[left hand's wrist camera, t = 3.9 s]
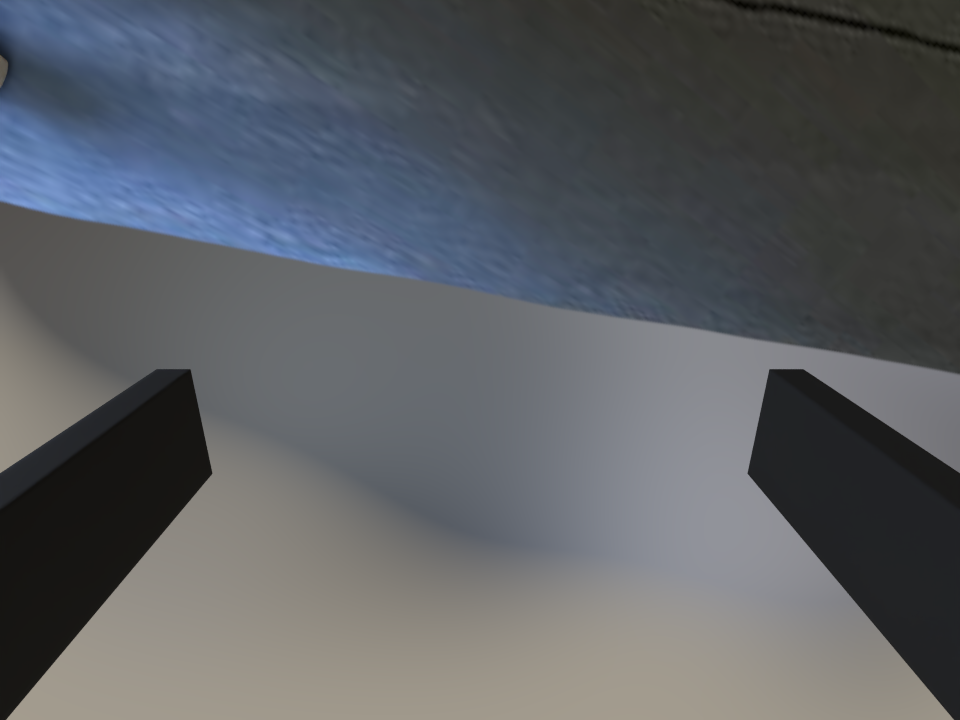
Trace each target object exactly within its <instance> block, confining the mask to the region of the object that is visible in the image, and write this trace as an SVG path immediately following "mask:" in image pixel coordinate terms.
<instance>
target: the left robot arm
mask: <svg viewBox="0 0 960 720" xmlns="http://www.w3.org/2000/svg"><path fill="white" fill-rule="evenodd" d="M211 475H212V469H211V465H210V460H209V455H208V450H207V446H206V441H205V436H204V431H203V427H202V422H201V417H200V413H199V408H198V403H197V398H196V393H195V389H194V384H193V379H192V374H191V370H190V369H157V370H155V371H153V372H152V373H150V374H149V375H147V376H146V377H144V378H143V379H141V380H140V381H138V382H137V383H135V384H134V385H132V386H131V387H129V388H128V389H126V390H125V391H123V392H122V393H120V394H119V395H117V396H116V397H114V398H113V399H111V400H110V401H108V402H107V403H105V404H104V405H102V406H101V407H99V408H98V409H96V410H95V411H93V412H92V413H90V414H89V415H87V416H86V417H84V418H83V419H81V420H80V421H78V422H77V423H75V424H74V425H72V426H71V427H69V428H68V429H66V430H65V431H63V432H62V433H60V434H59V435H57V436H56V437H54V438H53V439H51V440H50V441H48V442H47V443H45V444H44V445H42V446H41V447H39V448H38V449H36V450H35V451H33V452H32V453H30V454H29V455H27V456H26V457H24V458H22V459H21V460H19V461H18V462H16V463H15V464H13V465H12V466H10V467H9V468H7V469H6V470H4V471H3V472H1V473H0V720H6V719H7V718H8V717H9V715H10V714H11V713H12V712H13V711H14V709H15V708H16V707H17V706H18V705H19V703H20V702H21V701H22V700H23V699H24V698H25V696H26V695H27V694H28V693H29V692H30V690H31V689H32V688H33V687H34V686H35V684H36V683H37V682H38V681H39V680H40V678H41V677H42V676H43V675H44V674H45V672H46V671H47V670H48V669H49V668H50V667H51V665H52V664H53V663H54V662H55V660H56V659H57V658H58V657H59V656H60V655H61V653H62V652H63V651H64V650H65V649H66V647H67V646H68V645H69V644H70V643H71V641H72V640H73V639H74V638H75V637H76V636H77V634H78V633H79V632H80V631H81V630H82V628H83V627H84V626H85V625H86V624H87V622H88V621H89V620H90V619H91V618H92V616H93V615H94V614H95V613H96V612H97V610H98V609H99V608H100V607H101V606H102V605H103V603H104V602H105V601H106V600H107V599H108V597H109V596H110V595H111V594H112V593H113V591H114V590H115V589H116V588H117V587H118V585H119V584H120V583H121V582H122V581H123V580H124V578H125V577H126V576H127V575H128V574H129V572H130V571H131V570H132V569H133V568H134V566H135V565H136V564H137V563H138V562H139V560H140V559H141V558H142V557H143V556H144V554H145V553H146V552H147V551H148V550H149V548H150V547H151V546H152V545H153V544H154V543H155V541H156V540H157V539H158V538H159V537H160V535H161V534H162V533H163V532H164V531H165V529H166V528H167V527H168V526H169V525H170V523H171V522H172V521H173V520H174V519H175V518H176V516H177V515H178V514H179V513H180V512H181V510H182V509H183V508H184V507H185V506H186V504H187V503H188V502H189V501H190V500H191V498H192V497H193V496H194V495H195V494H196V492H197V491H198V490H199V489H200V488H201V487H202V485H203V484H204V483H205V482H206V481H207V479H208V478H209V477H210V476H211ZM748 475H749V476H750V477H751V478H752V479H753V481H754V482H755V483H756V484H757V485H758V487H759V488H760V489H761V490H762V491H763V492H764V494H765V495H766V496H767V497H768V498H769V500H770V501H771V502H772V503H773V504H774V506H775V507H776V508H777V509H778V510H779V512H780V513H781V514H782V515H783V516H784V517H785V519H786V520H787V521H788V522H789V523H790V525H791V526H792V527H793V528H794V529H795V531H796V532H797V533H798V534H799V535H800V537H801V538H802V539H803V540H804V541H805V543H806V544H807V545H808V546H809V547H810V549H811V550H812V551H813V552H814V553H815V554H816V556H817V557H818V558H819V559H820V560H821V562H822V563H823V564H824V565H825V566H826V568H827V569H828V570H829V571H830V572H831V573H832V575H833V576H834V577H835V578H836V579H837V581H838V582H839V583H840V584H841V585H842V587H843V588H844V589H845V590H846V591H847V593H848V594H849V595H850V596H851V597H852V599H853V600H854V601H855V602H856V603H857V605H858V606H859V607H860V608H861V609H862V610H863V612H864V613H865V614H866V615H867V616H868V618H869V619H870V620H871V621H872V622H873V624H874V625H875V626H876V627H877V628H878V630H879V631H880V632H881V633H882V634H883V636H884V637H885V638H886V639H887V640H888V641H889V643H890V644H891V645H892V646H893V647H894V649H895V650H896V651H897V652H898V653H899V655H900V656H901V657H902V658H903V659H904V661H905V662H906V663H907V664H908V665H909V667H910V668H911V669H912V670H913V671H914V673H915V674H916V675H917V676H918V677H919V678H920V680H921V681H922V682H923V683H924V684H925V686H926V687H927V688H928V689H929V690H930V692H931V693H932V694H933V695H934V696H935V697H936V699H937V700H938V701H939V702H940V704H941V705H942V706H943V707H944V708H945V709H946V711H947V712H948V713H949V714H950V715H951V717H952V718H953V719H954V720H960V473H959V472H957V471H956V470H954V469H953V468H951V467H950V466H948V465H946V464H945V463H943V462H942V461H941V460H939V459H937V458H936V457H934V456H933V455H931V454H930V453H928V452H927V451H925V450H924V449H922V448H921V447H919V446H918V445H916V444H915V443H913V442H912V441H910V440H909V439H907V438H906V437H904V436H903V435H901V434H900V433H898V432H897V431H895V430H894V429H892V428H891V427H889V426H888V425H886V424H885V423H883V422H882V421H880V420H879V419H877V418H876V417H874V416H873V415H871V414H870V413H868V412H867V411H865V410H864V409H862V408H861V407H859V406H858V405H856V404H855V403H853V402H852V401H850V400H849V399H847V398H846V397H844V396H843V395H841V394H840V393H838V392H837V391H835V390H834V389H832V388H831V387H829V386H828V385H826V384H825V383H823V382H822V381H820V380H819V379H817V378H816V377H814V376H813V375H811V374H810V373H808V372H806V371H805V370H803V369H770V370H769V375H768V379H767V384H766V389H765V394H764V398H763V403H762V408H761V412H760V417H759V422H758V427H757V431H756V436H755V441H754V446H753V450H752V455H751V460H750V465H749V469H748Z"/></svg>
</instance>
